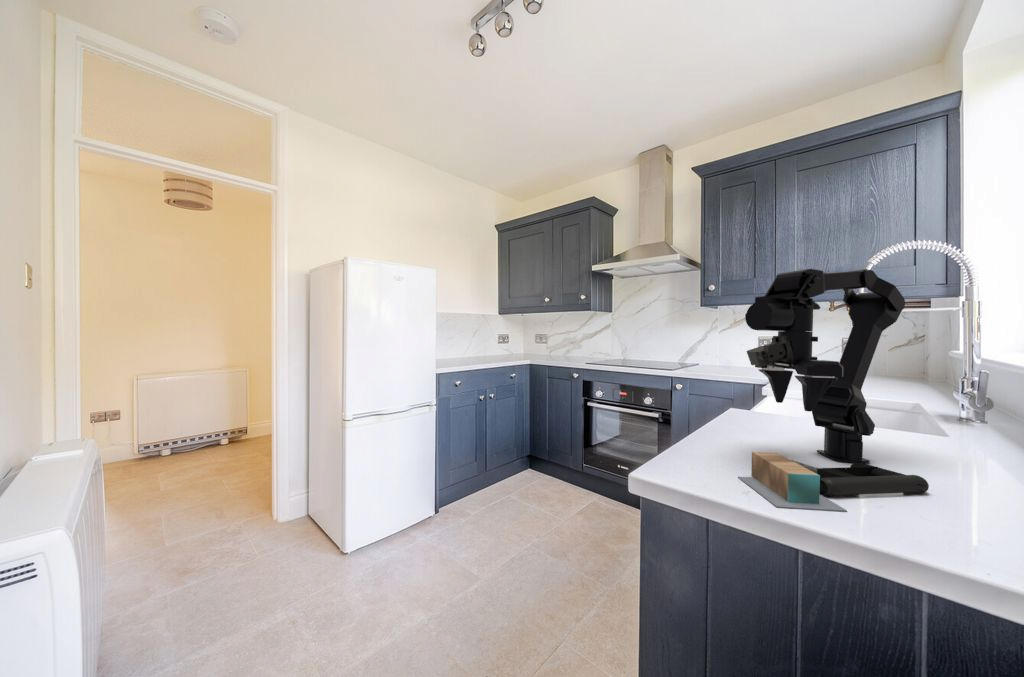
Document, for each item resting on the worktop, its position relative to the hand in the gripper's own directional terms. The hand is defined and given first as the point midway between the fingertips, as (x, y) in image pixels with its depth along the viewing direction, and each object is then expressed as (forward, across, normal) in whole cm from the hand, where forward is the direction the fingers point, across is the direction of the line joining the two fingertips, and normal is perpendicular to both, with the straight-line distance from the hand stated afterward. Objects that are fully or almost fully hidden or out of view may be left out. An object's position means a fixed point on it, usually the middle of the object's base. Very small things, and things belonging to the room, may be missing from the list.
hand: (792, 406), depth 77 cm
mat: (+12, +16, -10) cm, 22 cm away
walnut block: (+10, +9, -10) cm, 16 cm away
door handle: (+13, +8, +4) cm, 15 cm away
